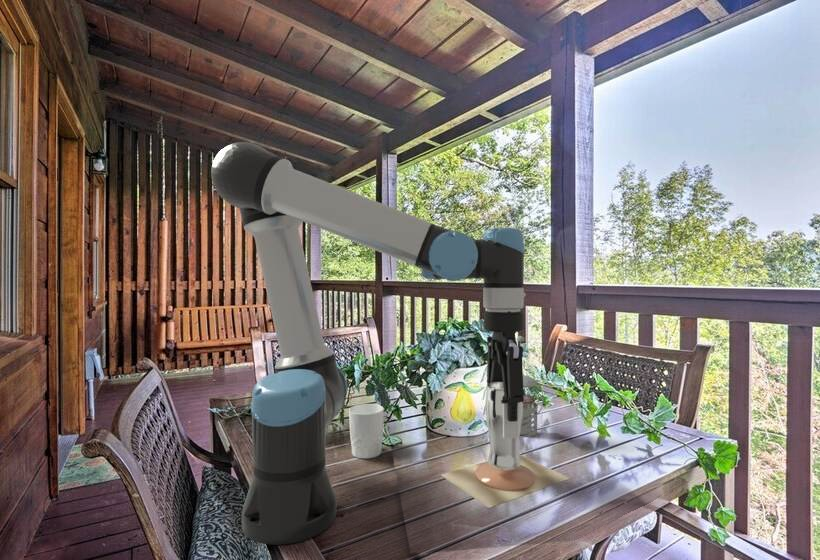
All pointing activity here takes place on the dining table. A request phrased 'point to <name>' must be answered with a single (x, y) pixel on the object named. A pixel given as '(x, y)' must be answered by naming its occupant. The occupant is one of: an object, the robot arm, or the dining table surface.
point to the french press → (529, 405)
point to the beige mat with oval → (494, 497)
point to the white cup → (366, 430)
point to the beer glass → (501, 430)
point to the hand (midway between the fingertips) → (504, 430)
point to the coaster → (505, 477)
